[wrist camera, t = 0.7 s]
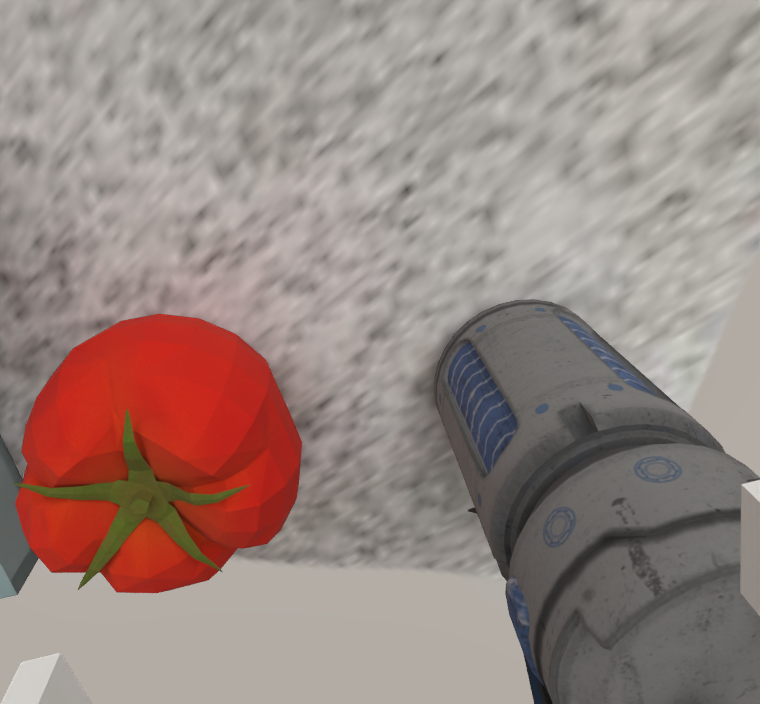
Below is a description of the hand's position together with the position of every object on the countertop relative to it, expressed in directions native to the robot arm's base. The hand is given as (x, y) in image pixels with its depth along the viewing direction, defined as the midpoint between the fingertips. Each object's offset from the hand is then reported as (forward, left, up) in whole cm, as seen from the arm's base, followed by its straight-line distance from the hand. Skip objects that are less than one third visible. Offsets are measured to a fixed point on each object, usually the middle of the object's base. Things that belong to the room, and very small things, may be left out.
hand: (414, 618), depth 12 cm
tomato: (+6, -11, -26) cm, 29 cm away
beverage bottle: (+9, +8, -26) cm, 29 cm away
